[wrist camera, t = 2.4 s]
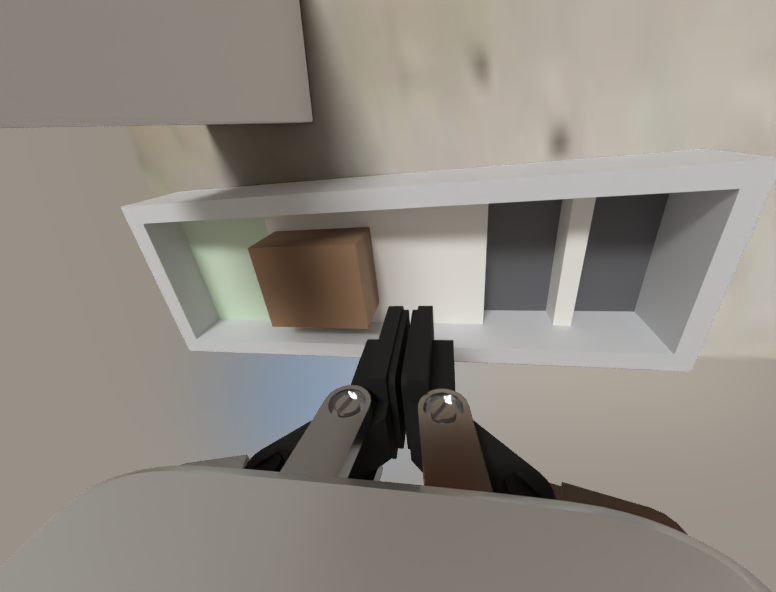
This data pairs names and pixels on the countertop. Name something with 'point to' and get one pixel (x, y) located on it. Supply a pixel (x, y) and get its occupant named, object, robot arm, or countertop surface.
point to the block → (317, 277)
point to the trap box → (483, 256)
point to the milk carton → (151, 63)
